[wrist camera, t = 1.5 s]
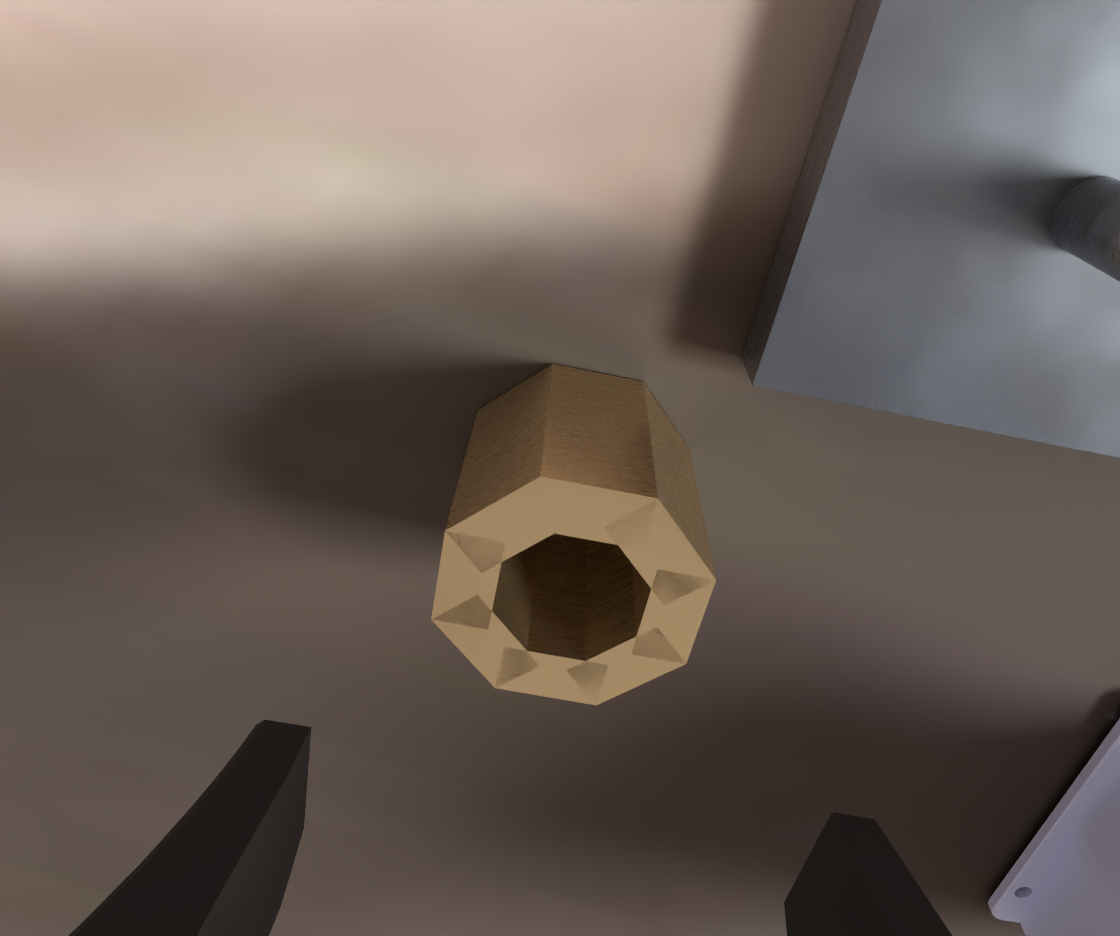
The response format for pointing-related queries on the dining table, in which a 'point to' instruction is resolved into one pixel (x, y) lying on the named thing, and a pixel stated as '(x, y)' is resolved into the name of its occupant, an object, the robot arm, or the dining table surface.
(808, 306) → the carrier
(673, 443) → the tan hollow octagonal prism
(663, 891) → the dining table surface
